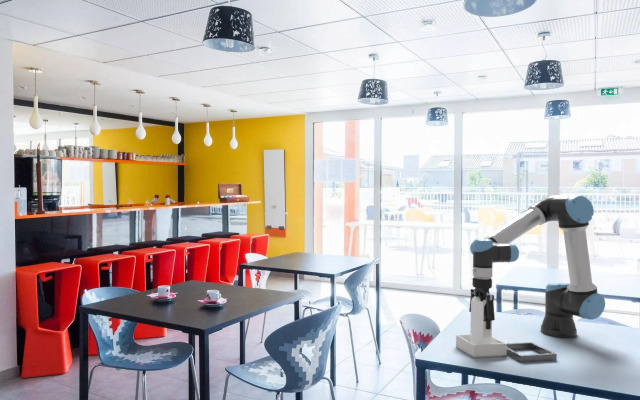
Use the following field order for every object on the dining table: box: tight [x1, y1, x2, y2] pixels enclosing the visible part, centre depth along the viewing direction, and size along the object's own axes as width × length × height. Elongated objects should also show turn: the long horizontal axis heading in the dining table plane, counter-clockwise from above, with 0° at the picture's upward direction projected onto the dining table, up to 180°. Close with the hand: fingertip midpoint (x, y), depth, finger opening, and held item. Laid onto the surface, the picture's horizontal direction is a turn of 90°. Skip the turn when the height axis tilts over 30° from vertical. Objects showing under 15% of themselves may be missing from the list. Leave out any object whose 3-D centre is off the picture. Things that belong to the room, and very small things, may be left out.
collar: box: [506, 341, 558, 363], centre depth 200 cm, size 16×16×2 cm
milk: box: [469, 291, 493, 345], centre depth 203 cm, size 6×6×22 cm
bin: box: [455, 333, 508, 359], centre depth 203 cm, size 14×14×5 cm
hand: (481, 333), depth 203 cm, fingers closed on milk, 8 cm apart
